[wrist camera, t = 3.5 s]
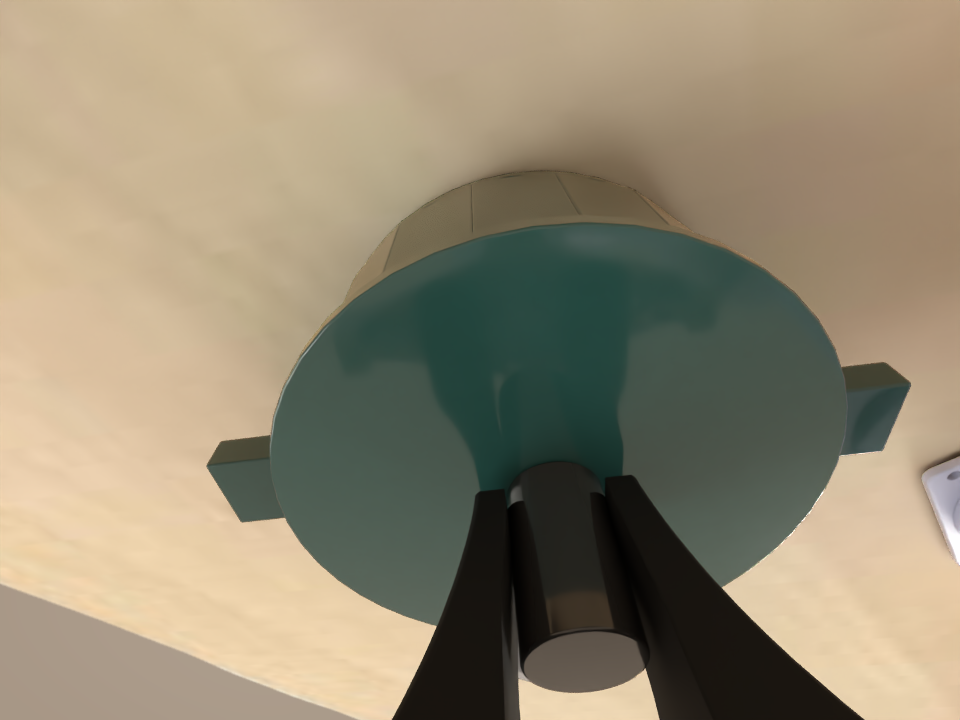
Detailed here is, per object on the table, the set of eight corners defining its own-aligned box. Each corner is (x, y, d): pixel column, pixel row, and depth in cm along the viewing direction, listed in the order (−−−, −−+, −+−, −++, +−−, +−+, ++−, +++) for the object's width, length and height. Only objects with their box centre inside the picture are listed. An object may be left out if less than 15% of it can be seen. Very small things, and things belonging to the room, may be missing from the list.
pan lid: (181, 256, 10) (-29, 428, 6) (900, 153, 9) (1275, 264, 5) (364, 622, 18) (332, 811, 13) (764, 583, 17) (865, 771, 13)
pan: (195, 219, 14) (72, 307, 10) (850, 122, 13) (1046, 172, 9) (330, 510, 21) (294, 638, 17) (763, 462, 20) (847, 585, 16)
